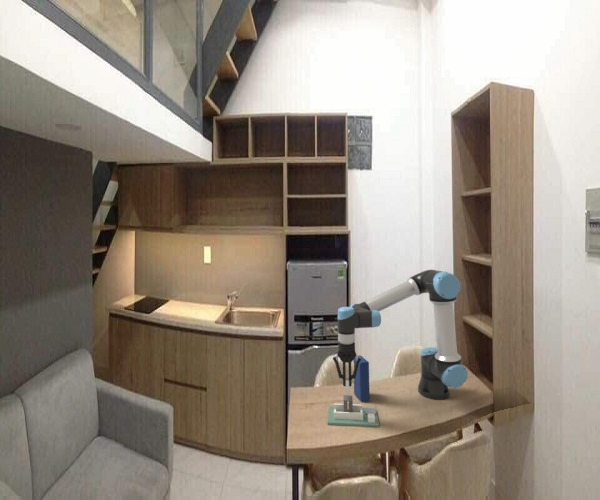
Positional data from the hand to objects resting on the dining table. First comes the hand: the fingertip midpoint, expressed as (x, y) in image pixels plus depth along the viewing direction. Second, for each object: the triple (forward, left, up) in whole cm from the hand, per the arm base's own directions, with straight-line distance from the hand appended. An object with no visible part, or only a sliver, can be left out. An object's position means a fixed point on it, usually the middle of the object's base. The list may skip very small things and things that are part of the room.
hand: (347, 392), depth 151 cm
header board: (-2, 0, -11) cm, 11 cm away
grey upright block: (0, 0, -10) cm, 10 cm away
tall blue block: (-7, -19, -11) cm, 23 cm away
